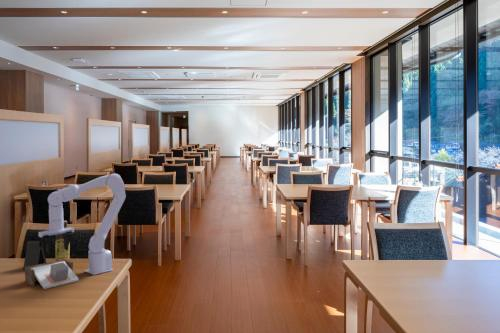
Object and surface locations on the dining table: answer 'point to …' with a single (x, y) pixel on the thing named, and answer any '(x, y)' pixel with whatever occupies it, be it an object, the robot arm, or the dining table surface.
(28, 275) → the trapdoor frame
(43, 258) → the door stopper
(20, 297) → the dining table surface
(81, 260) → the dining table surface
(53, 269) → the stone
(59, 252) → the sauce bottle
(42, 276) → the trapdoor
